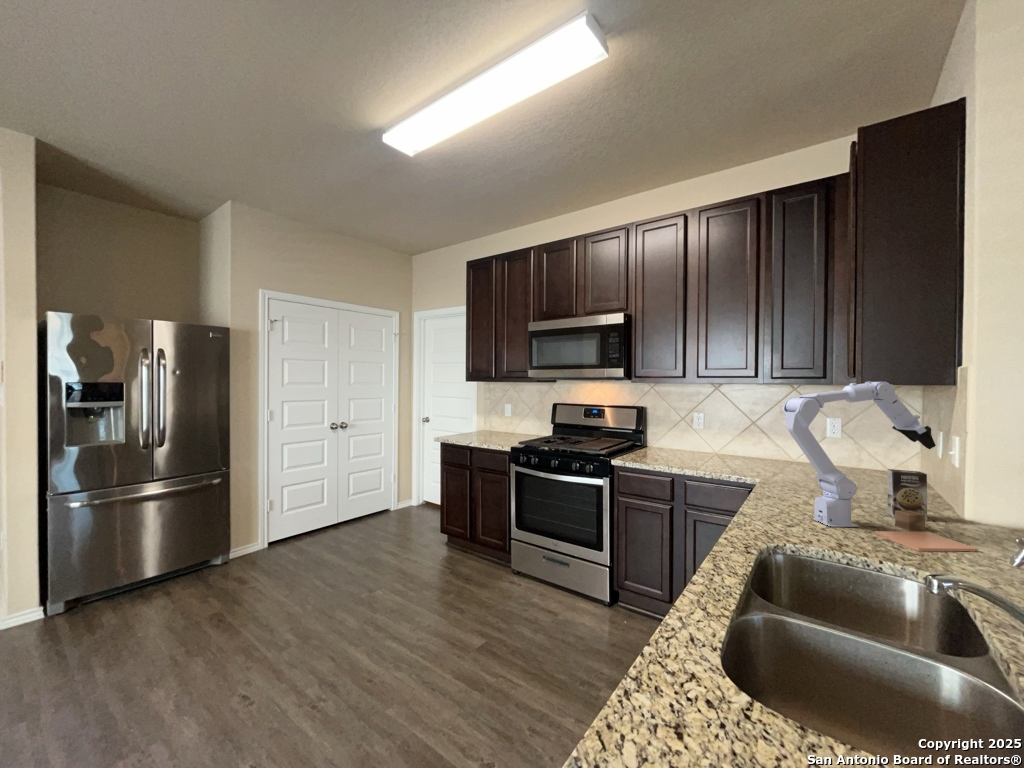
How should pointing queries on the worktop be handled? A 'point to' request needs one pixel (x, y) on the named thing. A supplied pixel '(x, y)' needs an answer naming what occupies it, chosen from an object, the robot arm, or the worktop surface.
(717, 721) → the worktop surface
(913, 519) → the walnut cube
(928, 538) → the terracotta tile
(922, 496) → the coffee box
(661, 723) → the worktop surface
